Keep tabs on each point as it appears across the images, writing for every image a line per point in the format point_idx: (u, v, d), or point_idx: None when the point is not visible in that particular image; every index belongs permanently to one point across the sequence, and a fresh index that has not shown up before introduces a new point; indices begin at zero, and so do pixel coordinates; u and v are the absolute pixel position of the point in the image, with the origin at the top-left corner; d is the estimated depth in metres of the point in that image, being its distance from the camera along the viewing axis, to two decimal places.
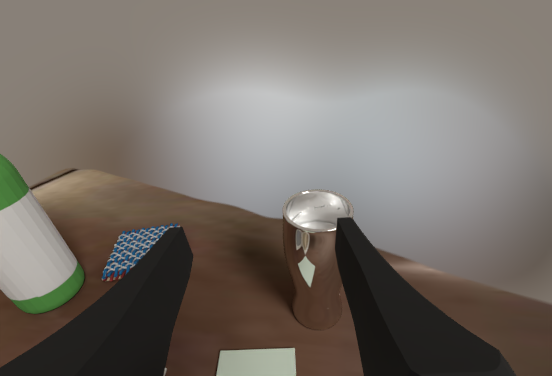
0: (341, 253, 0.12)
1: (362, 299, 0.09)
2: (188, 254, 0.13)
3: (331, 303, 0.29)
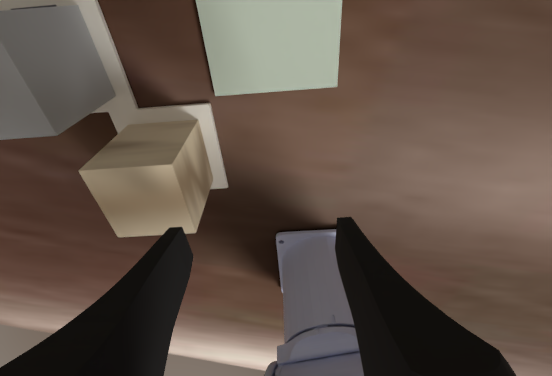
0: (341, 253, 0.12)
1: (362, 299, 0.09)
2: (188, 254, 0.13)
3: None
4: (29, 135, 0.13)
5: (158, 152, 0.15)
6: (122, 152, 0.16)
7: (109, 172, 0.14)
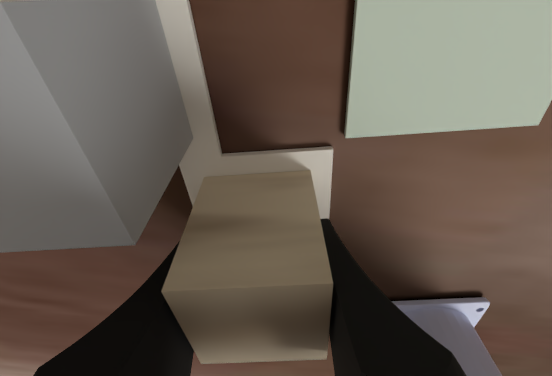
0: None
1: (332, 300, 0.09)
2: None
3: None
4: (81, 244, 0.07)
5: (288, 247, 0.09)
6: (223, 243, 0.09)
7: (216, 293, 0.08)
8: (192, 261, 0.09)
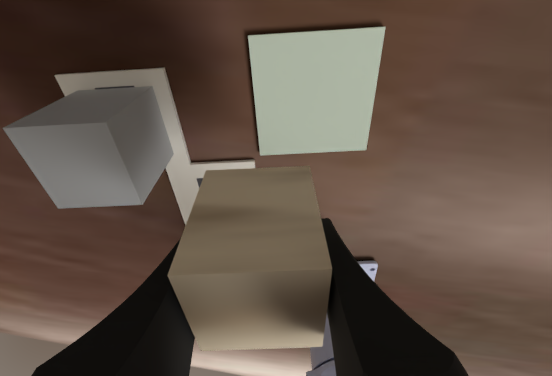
0: None
1: (333, 300, 0.09)
2: None
3: None
4: (119, 204, 0.16)
5: (289, 236, 0.09)
6: (226, 231, 0.10)
7: (220, 278, 0.08)
8: (197, 248, 0.09)
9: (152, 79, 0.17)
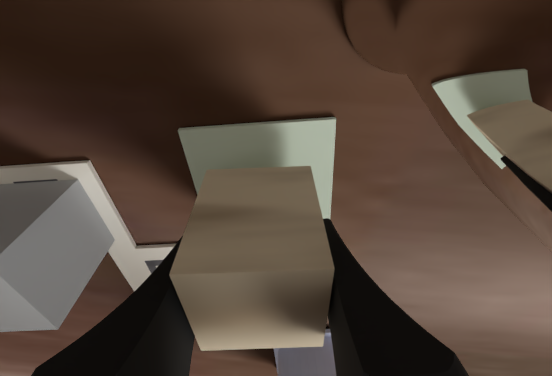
0: None
1: (333, 300, 0.09)
2: None
3: None
4: (31, 329, 0.14)
5: (290, 235, 0.09)
6: (227, 231, 0.10)
7: (222, 277, 0.08)
8: (198, 247, 0.09)
9: (76, 173, 0.15)
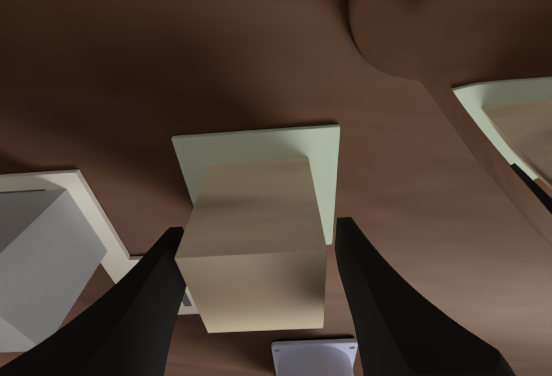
0: (341, 253, 0.12)
1: (362, 299, 0.09)
2: None
3: None
4: (15, 350, 0.13)
5: (287, 221, 0.10)
6: (228, 218, 0.10)
7: (223, 260, 0.09)
8: (201, 234, 0.10)
9: (65, 183, 0.14)
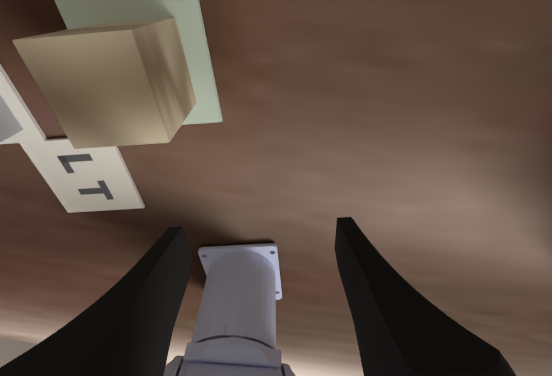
0: (341, 253, 0.12)
1: (362, 299, 0.09)
2: (188, 254, 0.13)
3: None
4: None
5: (117, 28, 0.12)
6: (74, 31, 0.12)
7: (52, 43, 0.11)
8: (44, 35, 0.12)
9: None
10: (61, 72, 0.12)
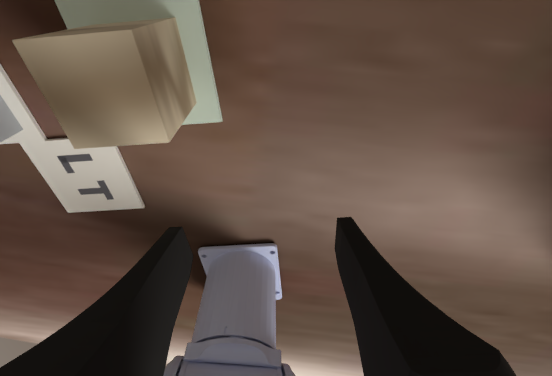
0: (341, 253, 0.12)
1: (362, 299, 0.09)
2: (188, 254, 0.13)
3: None
4: None
5: (117, 28, 0.12)
6: (74, 31, 0.12)
7: (52, 43, 0.11)
8: (44, 35, 0.12)
9: None
10: (61, 72, 0.12)
